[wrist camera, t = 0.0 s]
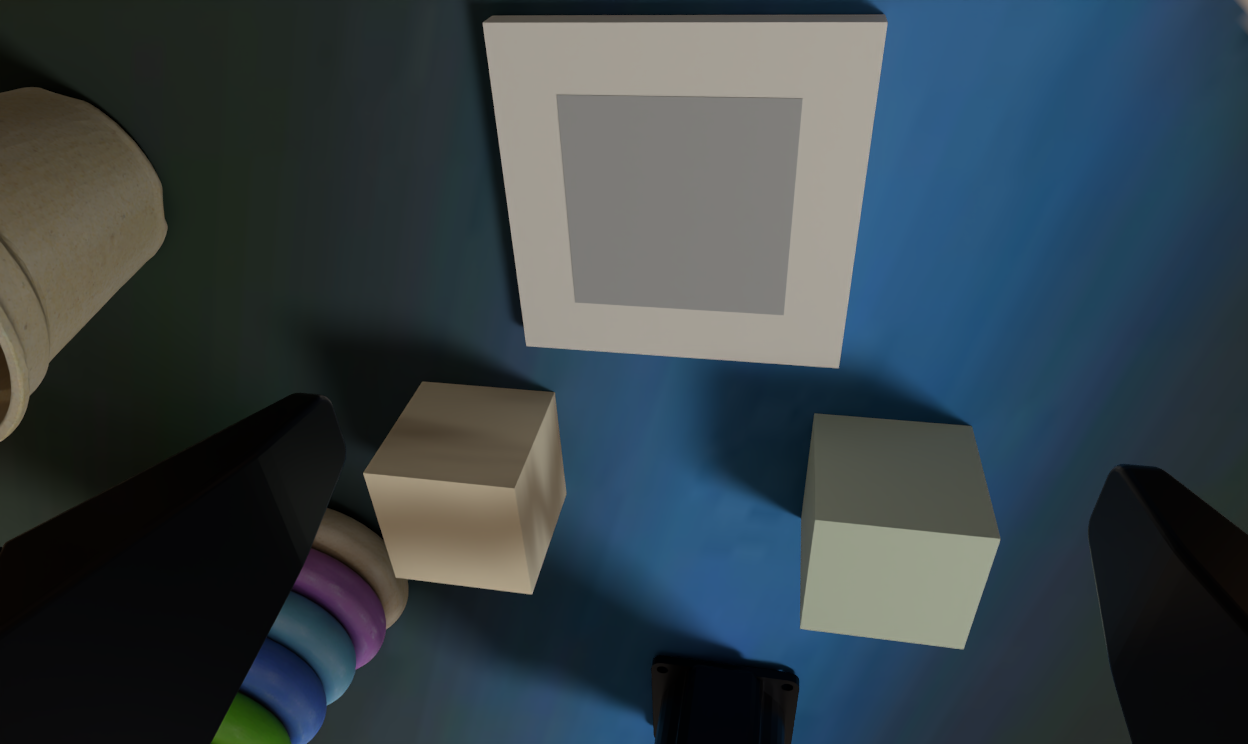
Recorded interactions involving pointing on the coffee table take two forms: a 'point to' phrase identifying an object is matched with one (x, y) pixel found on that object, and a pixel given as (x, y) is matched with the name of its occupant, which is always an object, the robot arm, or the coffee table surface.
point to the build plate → (686, 178)
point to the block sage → (894, 530)
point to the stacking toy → (318, 637)
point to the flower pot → (64, 229)
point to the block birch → (470, 486)
